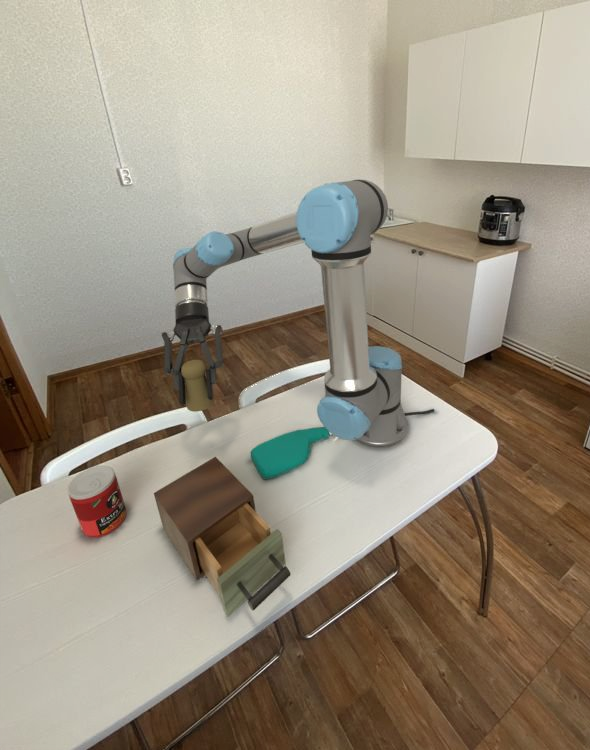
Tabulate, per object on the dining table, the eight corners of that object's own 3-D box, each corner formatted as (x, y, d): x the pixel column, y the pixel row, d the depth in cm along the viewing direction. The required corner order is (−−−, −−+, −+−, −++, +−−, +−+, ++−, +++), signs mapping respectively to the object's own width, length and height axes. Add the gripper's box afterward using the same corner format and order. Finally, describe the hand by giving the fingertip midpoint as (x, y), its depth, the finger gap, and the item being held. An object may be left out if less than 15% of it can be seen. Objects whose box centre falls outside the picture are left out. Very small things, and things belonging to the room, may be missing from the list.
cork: (219, 399, 92) (212, 359, 88) (199, 414, 86) (191, 372, 83) (201, 393, 94) (193, 354, 90) (180, 407, 89) (171, 366, 85)
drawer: (303, 583, 65) (300, 551, 63) (244, 642, 57) (237, 609, 55) (245, 518, 77) (240, 489, 74) (189, 560, 69) (181, 529, 67)
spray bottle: (248, 456, 94) (334, 419, 107) (264, 485, 86) (356, 442, 99) (247, 446, 93) (334, 410, 106) (263, 475, 85) (355, 432, 98)
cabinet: (258, 531, 75) (253, 494, 72) (196, 581, 67) (187, 542, 63) (221, 490, 85) (215, 456, 81) (163, 529, 76) (153, 493, 73)
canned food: (106, 542, 74) (92, 500, 70) (72, 535, 75) (55, 493, 71) (136, 508, 81) (124, 468, 77) (104, 502, 82) (90, 462, 78)
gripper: (231, 308, 100) (240, 396, 91) (155, 317, 96) (156, 411, 87) (228, 296, 94) (237, 390, 85) (146, 305, 89) (146, 406, 80)
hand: (196, 400), depth 86 cm, fingers closed on cork, 5 cm apart
